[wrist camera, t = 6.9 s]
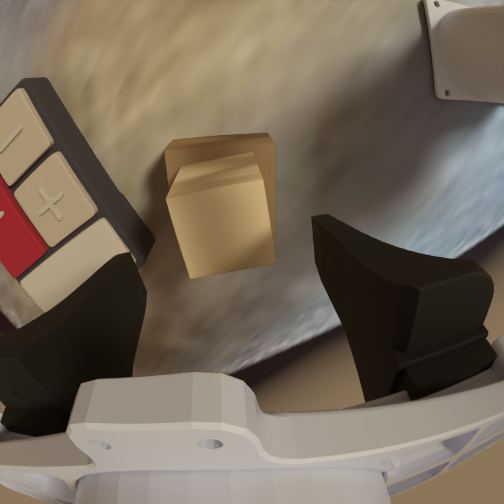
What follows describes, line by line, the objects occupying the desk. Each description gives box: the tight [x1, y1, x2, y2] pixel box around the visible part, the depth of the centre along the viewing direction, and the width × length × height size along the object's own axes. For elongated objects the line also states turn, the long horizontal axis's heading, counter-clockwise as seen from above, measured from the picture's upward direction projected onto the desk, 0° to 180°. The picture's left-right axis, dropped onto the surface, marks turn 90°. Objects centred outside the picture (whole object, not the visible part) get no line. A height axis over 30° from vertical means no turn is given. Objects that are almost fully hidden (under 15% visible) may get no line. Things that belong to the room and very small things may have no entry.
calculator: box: [0, 77, 155, 313], centre depth 19 cm, size 11×4×15 cm
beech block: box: [166, 152, 276, 279], centre depth 16 cm, size 4×4×5 cm
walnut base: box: [164, 133, 275, 247], centre depth 20 cm, size 6×6×4 cm
